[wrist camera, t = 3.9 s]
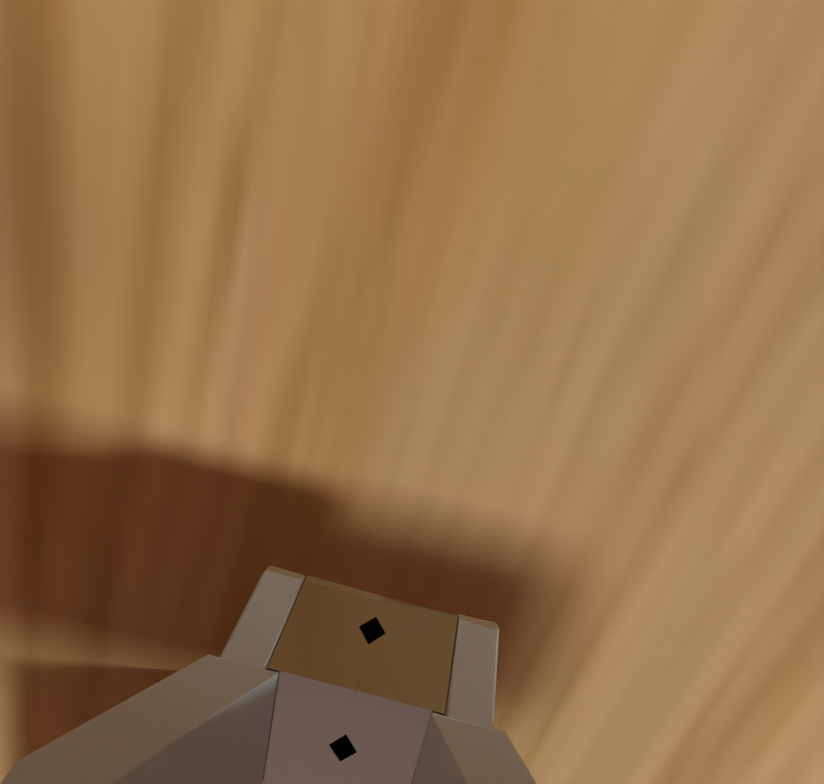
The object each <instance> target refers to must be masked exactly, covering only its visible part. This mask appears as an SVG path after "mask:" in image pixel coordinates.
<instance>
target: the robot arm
mask: <svg viewBox="0 0 824 784" xmlns="http://www.w3.org/2000/svg"><path fill="white" fill-rule="evenodd" d="M498 641H499V627H498V625H497V623H496V622H491V621H487V620H483V619H478V618H474V617H470V616H466V615H461V614H458V616H457V614H454V613H450V612H446V611H442V610H438V609H434V608H430V607H426V606H422V605H418V604H414V603H410V602H405V601H401V600H397V599H393V598H389V597H385V596H381V595H377V594H374V593H370V592H367V591H363V590H359V589H356V588H352V587H349V586H345V585H342V584H338V583H334V582H331V581H327V580H324V579H320V578H316V577H313V576H309V575H308V576H306V575H303V574H299V573H296V572H292V571H289V570H285V569H281V568H278V567H274V566H271V565H270V566H269V567H268V568H267V569H266V570H265V571H264V572H263V573H262V575H261V577H260V579H259V581H258V583H257V585H256V587H255V589H254V591H253V593H252V595H251V597H250V599H249V600H248V602H247V604H246V606H245V608H244V610H243V612H242V614H241V616H240V618H239V620H238V622H237V624H236V626H235V628H234V630H233V632H232V633H231V635H230V637H229V639H228V641H227V643H226V645H225V647H224V649H223V651H222V653H221V655H220V657H217V656H212V655H208V654H207V655H205V656H204V657H202V658H200V659H198V660H196V661H195V662H193V663H191V664H189V665H187V666H186V667H184V668H182V669H180V670H179V671H177V672H175V673H173V674H171V675H170V676H168V677H166V678H164V679H162V680H161V681H159V682H157V683H155V684H153V685H152V686H150V687H148V688H146V689H145V690H143V691H141V692H139V693H137V694H136V695H134V696H132V697H130V698H128V699H127V700H125V701H123V702H121V703H119V704H118V705H116V706H114V707H112V708H111V709H109V710H107V711H105V712H103V713H102V714H100V715H98V716H96V717H94V718H93V719H91V720H89V721H87V722H85V723H84V724H82V725H80V726H78V727H77V728H75V729H73V730H71V731H69V732H68V733H66V734H64V735H62V736H60V737H59V738H57V739H55V740H53V741H52V742H50V743H48V744H46V745H44V746H43V747H41V748H39V749H37V750H35V751H34V752H32V753H30V754H28V755H26V756H25V757H23V758H21V759H19V760H18V761H17V762H16V764H15V765H14V766H13V768H12V769H11V770H10V772H9V773H8V775H7V776H6V777H5V779H4V780H3V781H2V783H1V784H536V782H535V780H534V779H533V777H532V775H531V774H530V772H529V770H528V769H527V767H526V765H525V764H524V762H523V760H522V759H521V757H520V755H519V754H518V752H517V750H516V749H515V747H514V745H513V744H512V742H511V740H510V739H509V737H508V735H507V734H506V732H503V731H500V730H496V729H493V728H494V711H495V693H496V676H497V658H498Z"/></svg>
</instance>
